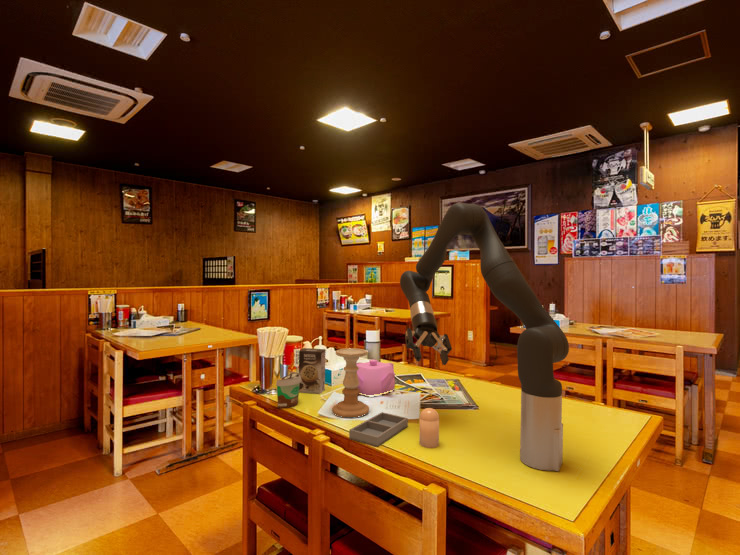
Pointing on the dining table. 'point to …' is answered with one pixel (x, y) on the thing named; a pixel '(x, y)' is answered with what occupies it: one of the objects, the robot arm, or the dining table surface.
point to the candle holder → (350, 385)
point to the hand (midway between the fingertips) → (432, 361)
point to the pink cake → (375, 377)
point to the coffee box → (312, 370)
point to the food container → (288, 390)
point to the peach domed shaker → (429, 428)
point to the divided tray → (378, 429)
